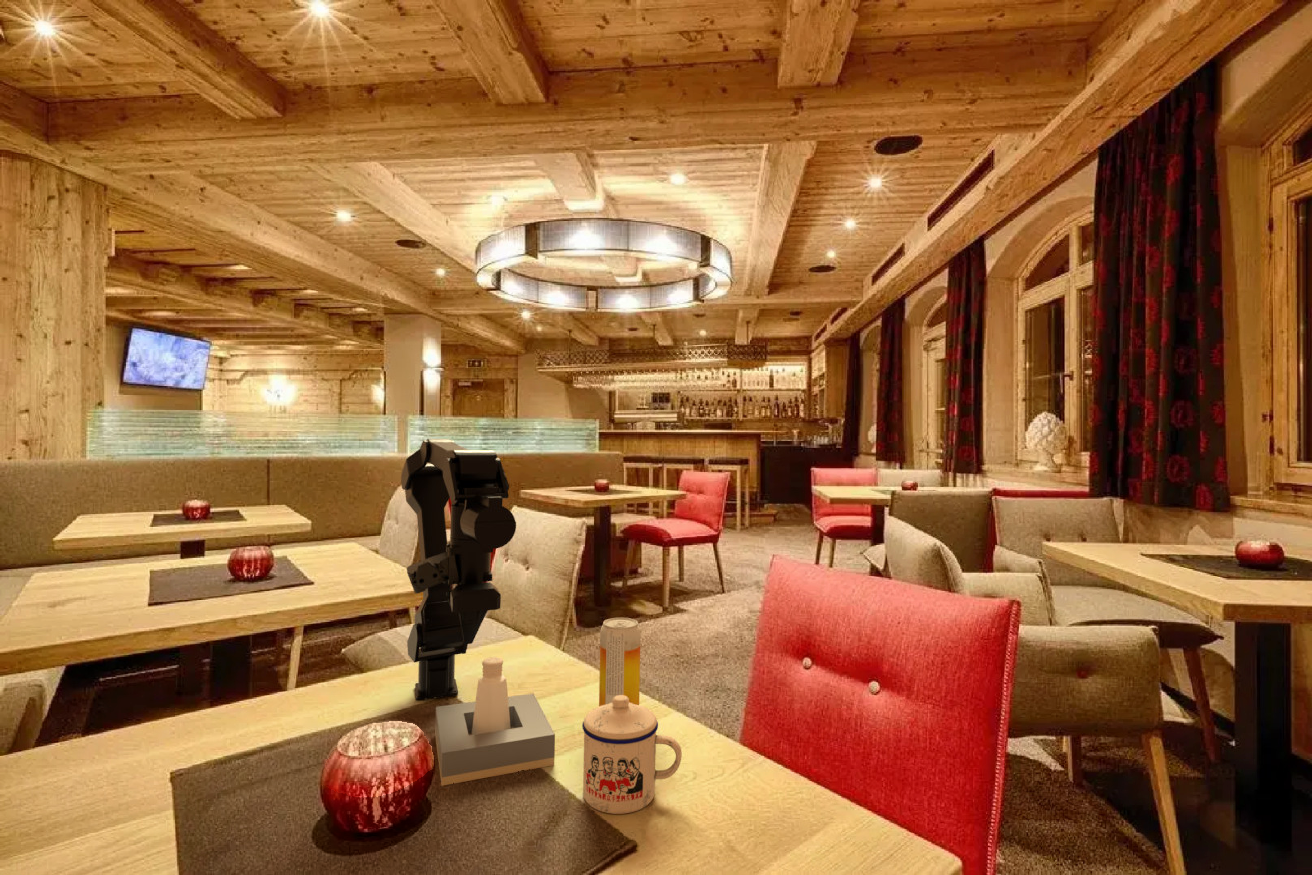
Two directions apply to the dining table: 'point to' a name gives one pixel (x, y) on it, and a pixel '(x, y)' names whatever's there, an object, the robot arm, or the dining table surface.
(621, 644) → the beer can
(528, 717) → the socket block
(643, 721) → the teacup with lid
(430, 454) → the robot arm
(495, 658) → the pepper shaker
